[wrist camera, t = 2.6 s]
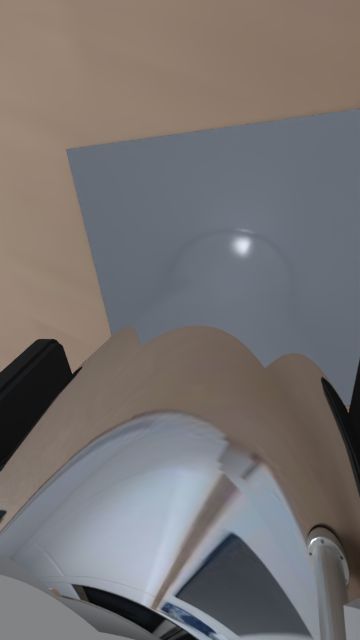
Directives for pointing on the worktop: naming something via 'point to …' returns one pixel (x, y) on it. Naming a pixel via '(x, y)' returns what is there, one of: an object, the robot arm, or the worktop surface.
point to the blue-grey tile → (234, 217)
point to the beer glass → (188, 474)
